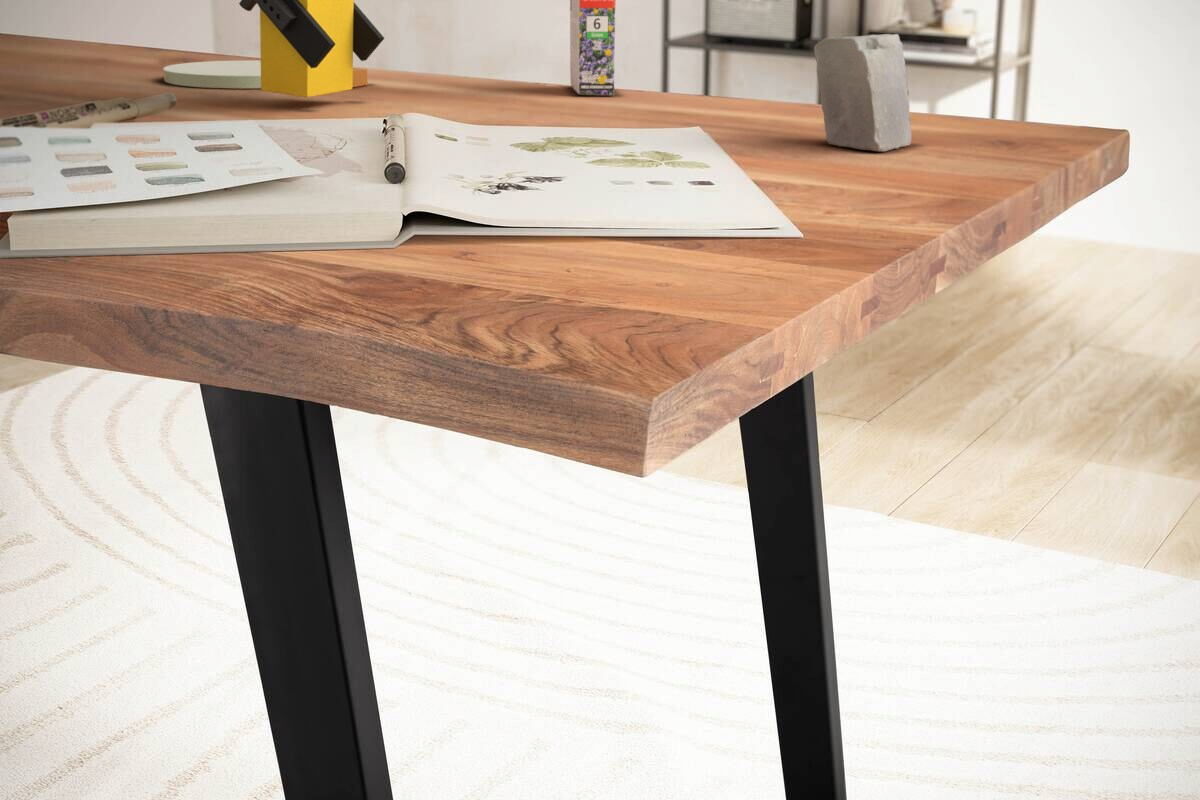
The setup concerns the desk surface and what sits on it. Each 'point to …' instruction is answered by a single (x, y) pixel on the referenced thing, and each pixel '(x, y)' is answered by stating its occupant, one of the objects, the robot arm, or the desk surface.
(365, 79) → the orange brown block
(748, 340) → the desk surface
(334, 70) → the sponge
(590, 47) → the ink box
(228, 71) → the plate
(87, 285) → the desk surface
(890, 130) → the mineral specimen
